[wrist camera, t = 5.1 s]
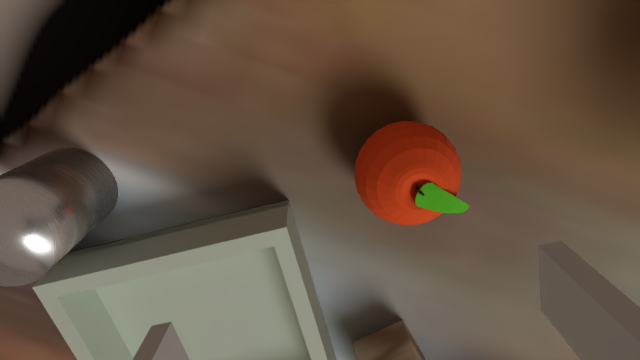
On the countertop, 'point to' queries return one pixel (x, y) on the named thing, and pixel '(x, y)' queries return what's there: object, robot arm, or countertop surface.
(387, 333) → the wood block
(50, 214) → the metal can
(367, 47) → the countertop surface
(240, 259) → the sage tray
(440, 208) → the clementine
